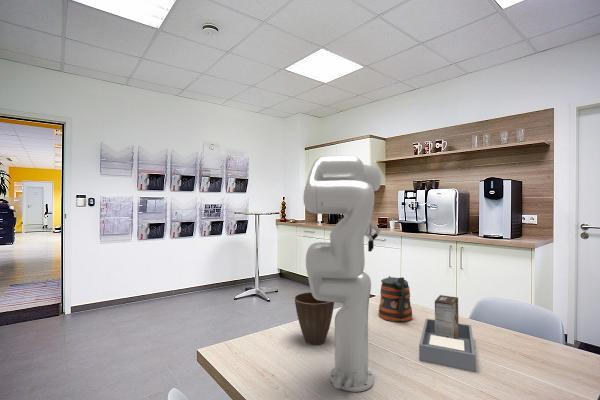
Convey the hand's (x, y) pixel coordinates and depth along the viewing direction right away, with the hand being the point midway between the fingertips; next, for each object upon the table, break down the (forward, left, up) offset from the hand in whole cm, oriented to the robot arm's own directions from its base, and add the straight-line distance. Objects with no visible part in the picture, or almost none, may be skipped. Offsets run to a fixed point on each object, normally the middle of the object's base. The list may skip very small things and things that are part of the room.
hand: (357, 250), depth 118 cm
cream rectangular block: (-4, -30, -32) cm, 45 cm away
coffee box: (+7, -30, -32) cm, 45 cm away
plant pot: (-9, +14, -34) cm, 37 cm away
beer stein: (+28, -10, -34) cm, 45 cm away
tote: (+3, -30, -33) cm, 45 cm away
